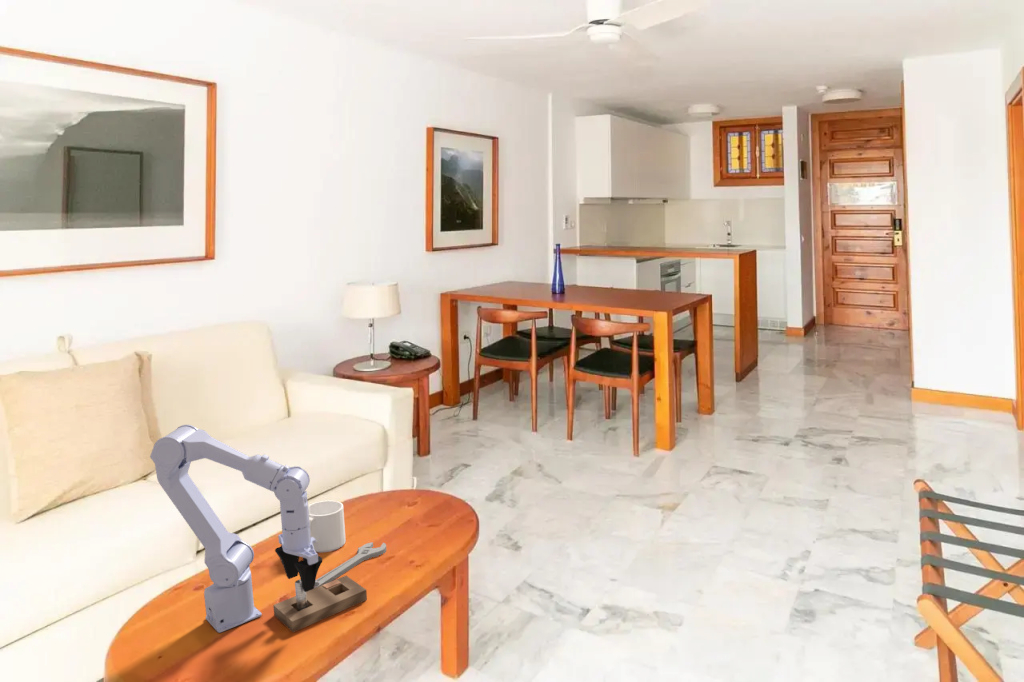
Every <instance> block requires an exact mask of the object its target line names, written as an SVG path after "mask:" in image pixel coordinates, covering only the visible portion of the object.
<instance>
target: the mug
mask: <svg viewBox="0 0 1024 682" xmlns="http://www.w3.org/2000/svg"><path fill="white" fill-rule="evenodd" d="M308 509H309V522H310V535H311V537H313V538H315V539H316V543H313V546H314V550H315V552H316V553H329V552H334V551H336V550H338V549H340V547H341V548H342V547H343V546H344V545H345V543H346V526H345V513H344V512H345V511H344V509H345V508H344V504H343V503H342V502H341V501H337V500H331V499H330V500H327V499H326V500H321V501H316V502H313V503H310V504H308Z"/></svg>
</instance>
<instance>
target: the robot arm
mask: <svg viewBox="0 0 1024 682" xmlns="http://www.w3.org/2000/svg"><path fill="white" fill-rule="evenodd" d="M149 458H150V459H151V461H152V462H153V463H154V466H155V467H154V469H155V472H156V480H157V482H158V483H159V485H160V487H161V488H162V490H163V491H164V493H165V494H166V495H167V496H168V498H169V500H170V501H171V503H173V505H174V506H175V508H176V510H177V511H178V513H180V515H181V516H182V518H183V519H184V521H185V522H186V523H187V525H188V526H189V528H190V529H191V531H192V532H193V534H195V536H196V537H197V539H198V541H199V542H200V543H201V545H202V546H203V548H204V551H205V552H204V564H205V566H206V568H207V569H208V575H209V578H210V580H211V582H212V584H210V585H209V586H207V587H206V588H204V592H203V596H204V606H205V612H206V614H205V615H206V616H205V620H206V621H207V622H208V623H209V624H210V625H211V627H213V629H214V630H215V631H216V632H217V633H223V632H226V631H228V630H231V629H232V628H235V627H238V626H241V625H242V624H244V623H247V622H249V621H252V620H254V619H255V620H256V619H257V618H260V617H262V615H263V614H262V612H261V611H260V610H259V609H257V607H256V606H255V601H254V591H253V581H252V580H253V579H252V578H253V577H252V572H251V571H252V570H251V568H250V565H251V564H252V562H253V561H254V557H255V551H254V549H253V547H252V546H251V545H250V544H249V543H247V542H245V541H244V540H243V539H242V538H241V537H240V536H239V535H238V533H233V532H229V531H228V530H227V529H226V526H225V525H224V524H223V522H222V521H221V519H220V518H219V517H218V515H217V514H216V512H215V511H214V510H213V508H212V507H211V505H210V504H209V502H208V501H207V499H206V498H205V496H204V495H203V494H202V492H201V491H200V489H199V488H198V487H197V485H196V484H195V482H194V481H193V479H192V478H191V476H190V475H189V469H190V466H191V463H192V462H194V461H199V460H202V459H206V460H209V461H212V462H215V463H218V464H220V465H223V466H225V467H229V468H230V469H234V470H236V471H239V472H241V474H242V476H243V478H244V480H246V481H248V482H250V483H252V484H255V485H256V486H259V487H262V488H264V489H265V490H267V491H271V492H272V493H273V492H274V495H275V497H276V499H277V500H278V501H279V509H280V520H281V521H280V522H281V534H278V537H277V538H278V544H280V546H279V547H276V548H275V549H274V552H275V553H276V555H277V556H278V558H279V559H280V562H281V563H282V567H283V569H284V573H285V575H286V578H287V579H288V580H290V579H293V578H296V577H298V575H299V578H300V579H301V583H302V588H303V590H304V591H305V592H307V591H309V590H312V589H314V585H315V580H317V575H318V571H319V569H320V566H321V565H322V563H323V557H322V556H320V555H319V554H318V552H315V550H314V546H313V543H316V539H315V538H313V537H311V535H310V522H309V509H308V506H309V503H308V492H307V489H308V488H309V485H310V479H311V478H310V476H309V473H308V472H307V471H306V470H305V469H303V468H302V467H301V466H296V465H295V466H291V467H290V466H289V465H287V464H285V465H283V464H281V463H278V462H277V461H274V460H272V459H270V456H269V455H267V454H265V453H263V454H262V455H261V454H254V455H252V456H249V455H247V454H245V453H243V452H241V451H239V450H237V449H235V448H233V447H232V446H230V445H228V444H227V443H224V442H222V441H220V440H218V439H216V438H215V437H212V436H211V435H210V434H209V433H208V432H207V431H206V430H203V429H200V428H197V427H196V426H194V425H192V424H182V425H180V426H178V427H177V428H176V429H175V430H173V431H172V432H170V433H168V434H166V435H165V436H163V437H161V438H158V440H156V442H155V443H154V445H153V448H152V450H151V453H150V456H149ZM300 557H301V558H302V560H299V559H300ZM300 579H299V580H300Z"/></svg>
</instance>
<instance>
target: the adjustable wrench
mask: <svg viewBox="0 0 1024 682" xmlns="http://www.w3.org/2000/svg"><path fill="white" fill-rule="evenodd" d="M372 547H373V548H372ZM386 552H387V544H386V543H385V542H382V544H381V545H380V546H379V547H374V542H373V541H372V542H368V543H365V544H363V545H362V546H360V547H357V550H356V553H357V554H355V555H354V556H353V557H351V558H349V559H348V560H346V561H344V562H343V563H341V564H340V565H338V566H337V567H335V568H333V569H331V570H330V571H328V572H326V573H324V574H323V575H322V576H320V577H318V578H316V580H315V585H314V588H317V587H319V586H321V585H324V584H326V583H329V582H331V581H334V580H336V579H339V578H340V577H341V576H342V575H344V574H345V573H347V572H349V571H350V570H352V569H354V566H355V567H356V566H357V565H359V564H361V563H363V562H364V560H365V561H367V560H370V559H372V557H373V558H376V557H379V555H380V556H381V554H382V555H384V554H385V553H386ZM383 553H384V554H383ZM369 558H370V559H369ZM362 561H363V562H362Z"/></svg>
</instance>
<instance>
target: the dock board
mask: <svg viewBox="0 0 1024 682" xmlns="http://www.w3.org/2000/svg"><path fill="white" fill-rule="evenodd" d="M306 595H307V608H305V609H303V610H300V611H297V602H296V595H294V596H293V597H289V598H287V599H284V600H283V601H280V602H277V603H275V604H273V615H274V617H275V618H276V619H278V621H280V622H281V623H282V624H283V625H284V626H285V627H286V628H287V629H289V630H290V631H291V632H292V633H295V632H297V631H299V630H302V629H304V628H306V627H308V626H310V625H313V624H315V623H318V622H320V621H322V620H324V619H327V618H329V617H332V616H333V615H336V614H338V613H340V612H343V611H345V610H347V609H349V608H351V607H355V606H357V605H358V604H361V603H363V602H365V601H367V599H368V596H367V595H368V593H367V589H366V588H365V587H363V586H362V585H360V584H359V583H358V582H357V581H355V580H353V579H352V578H350V577H349V576H348V575H343V576H342V577H341V576H340V577H338V578H336V579H335V580H333V581H331V582H329V583H326V584H324V585H321V586H319V587H317V588H314V589H312V590H309V591H307V592H306Z"/></svg>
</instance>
